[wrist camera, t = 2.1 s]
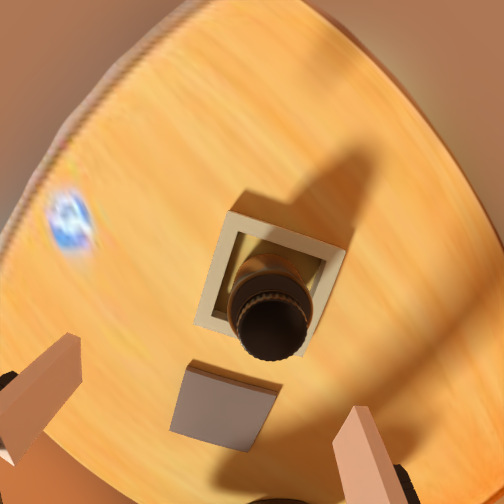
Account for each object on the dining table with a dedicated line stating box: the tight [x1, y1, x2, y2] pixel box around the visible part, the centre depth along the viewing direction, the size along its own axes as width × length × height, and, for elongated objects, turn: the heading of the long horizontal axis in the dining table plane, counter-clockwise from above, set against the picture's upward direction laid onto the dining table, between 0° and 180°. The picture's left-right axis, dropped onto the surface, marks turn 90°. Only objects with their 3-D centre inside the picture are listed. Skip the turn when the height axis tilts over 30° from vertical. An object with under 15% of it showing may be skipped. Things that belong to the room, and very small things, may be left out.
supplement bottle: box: [227, 253, 313, 361], centre depth 26 cm, size 7×7×12 cm
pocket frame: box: [193, 210, 346, 357], centre depth 31 cm, size 12×12×2 cm
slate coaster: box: [169, 366, 277, 452], centre depth 34 cm, size 11×11×1 cm
